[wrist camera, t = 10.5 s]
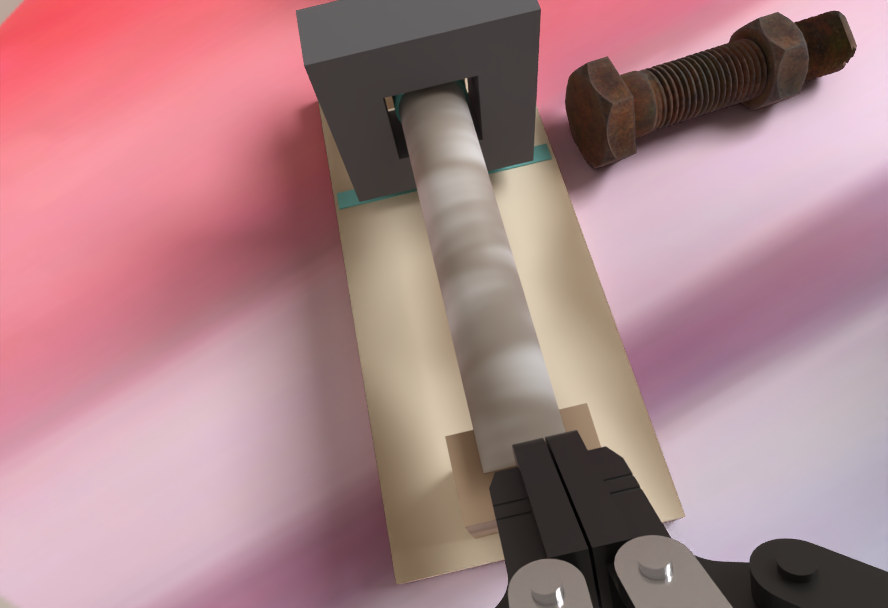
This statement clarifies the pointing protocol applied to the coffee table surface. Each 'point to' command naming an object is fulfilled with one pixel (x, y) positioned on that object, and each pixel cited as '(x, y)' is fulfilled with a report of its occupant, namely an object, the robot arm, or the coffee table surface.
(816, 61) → the bolt
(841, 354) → the coffee table surface
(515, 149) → the dark grey slider block
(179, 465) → the coffee table surface
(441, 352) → the pipe stand
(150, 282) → the coffee table surface
